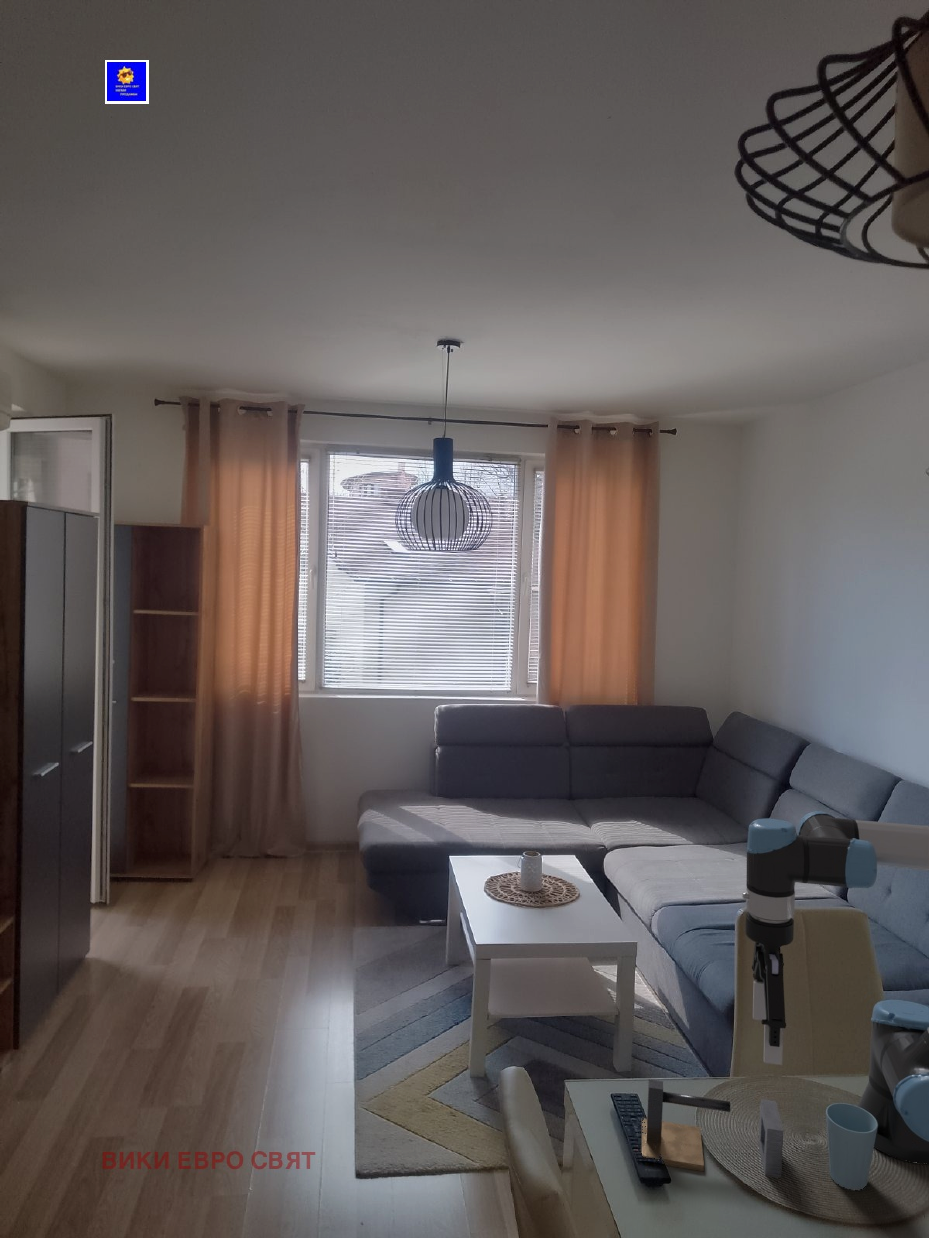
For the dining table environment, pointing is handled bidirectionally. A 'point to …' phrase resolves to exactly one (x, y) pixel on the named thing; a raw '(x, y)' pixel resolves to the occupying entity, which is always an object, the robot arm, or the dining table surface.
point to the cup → (850, 1144)
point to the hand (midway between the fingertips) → (766, 1039)
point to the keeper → (674, 1129)
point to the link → (770, 1138)
